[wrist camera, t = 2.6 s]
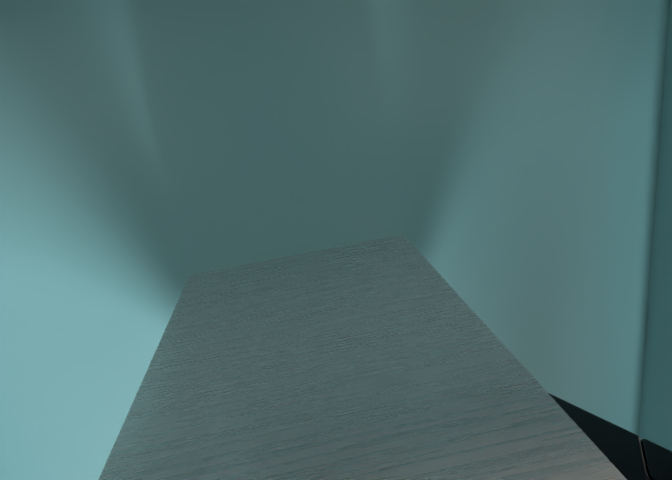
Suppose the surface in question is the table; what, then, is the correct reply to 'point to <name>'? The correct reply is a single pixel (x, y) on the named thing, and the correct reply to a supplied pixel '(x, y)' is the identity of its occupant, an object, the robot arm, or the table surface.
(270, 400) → the billet
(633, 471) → the robot arm
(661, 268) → the teal tray
